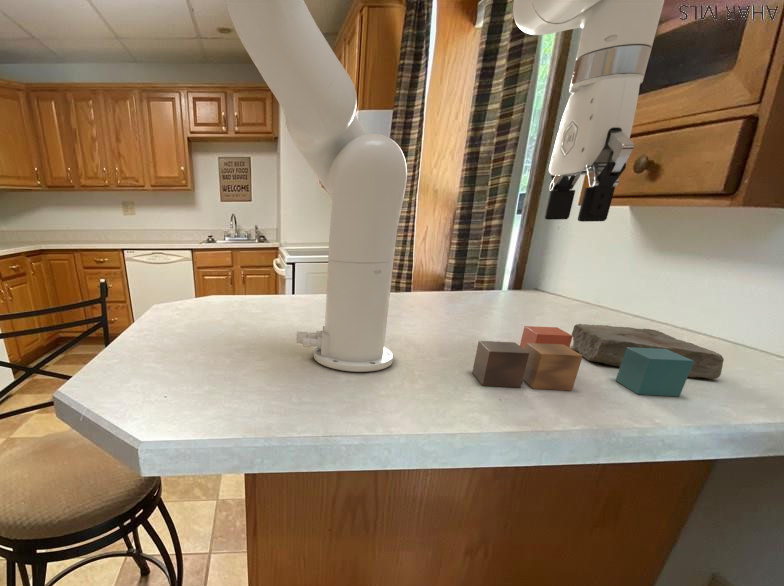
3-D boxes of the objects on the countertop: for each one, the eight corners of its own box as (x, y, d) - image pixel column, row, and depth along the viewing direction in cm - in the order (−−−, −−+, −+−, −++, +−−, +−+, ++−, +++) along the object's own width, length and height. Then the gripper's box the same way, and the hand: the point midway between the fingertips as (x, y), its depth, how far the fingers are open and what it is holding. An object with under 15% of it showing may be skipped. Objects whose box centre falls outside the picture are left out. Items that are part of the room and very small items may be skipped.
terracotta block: (529, 365, 66) (537, 334, 64) (517, 355, 71) (524, 325, 69) (564, 366, 66) (573, 335, 64) (549, 356, 70) (557, 327, 68)
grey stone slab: (720, 381, 60) (733, 353, 58) (602, 373, 63) (611, 346, 62) (652, 347, 75) (661, 324, 73) (560, 341, 78) (566, 319, 77)
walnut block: (482, 385, 58) (489, 351, 57) (472, 372, 63) (478, 340, 61) (521, 387, 58) (529, 353, 56) (507, 374, 62) (515, 342, 60)
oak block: (532, 388, 58) (541, 353, 56) (518, 375, 62) (526, 342, 60) (572, 390, 57) (582, 355, 55) (554, 377, 62) (564, 344, 60)
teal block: (637, 394, 56) (650, 358, 54) (615, 380, 60) (626, 347, 59) (679, 396, 55) (694, 360, 53) (653, 382, 60) (666, 348, 58)
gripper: (544, 92, 61) (520, 219, 68) (615, 52, 45) (574, 222, 52) (601, 89, 60) (570, 218, 67) (694, 47, 44) (642, 221, 51)
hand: (572, 220), depth 59 cm, fingers open, 9 cm apart
